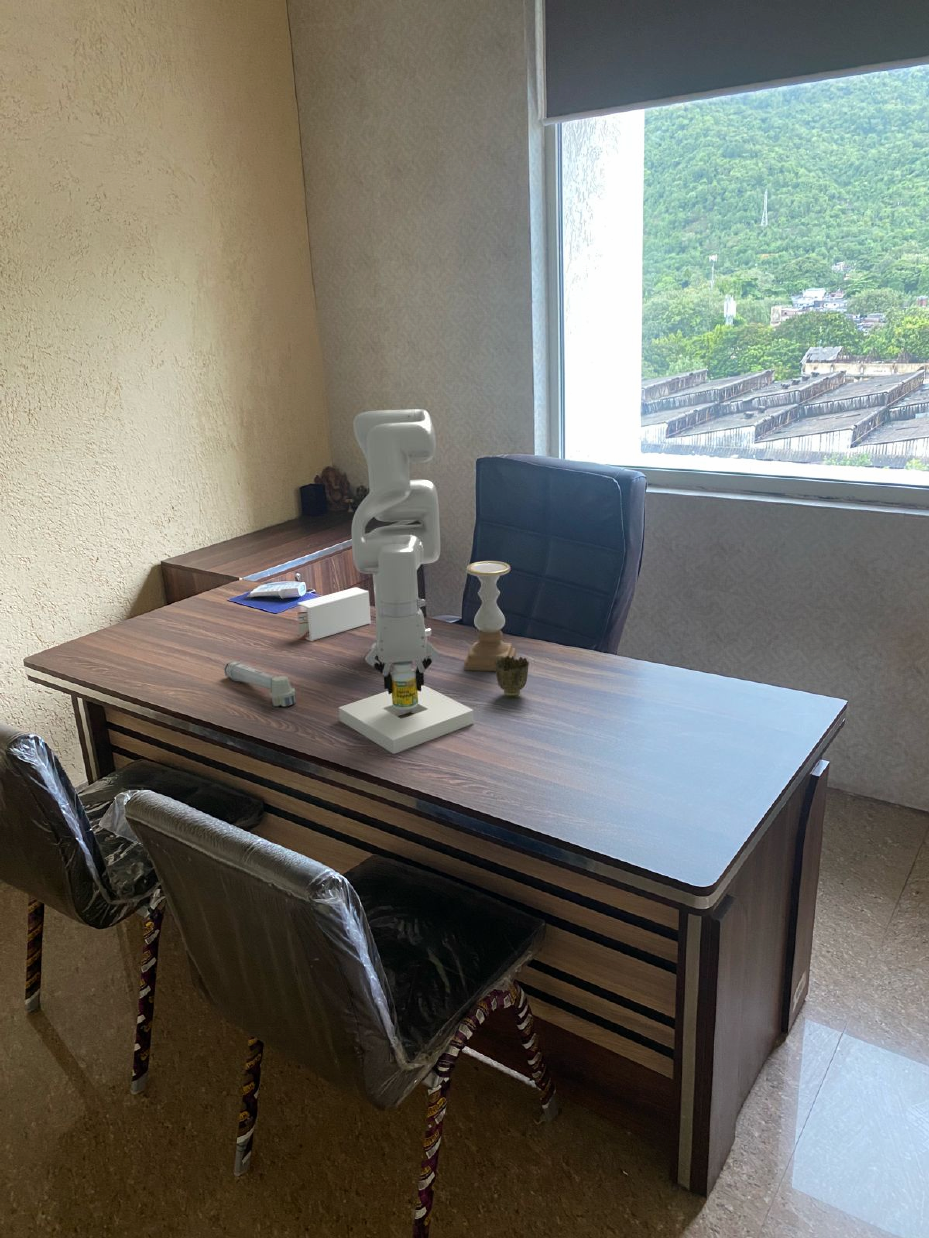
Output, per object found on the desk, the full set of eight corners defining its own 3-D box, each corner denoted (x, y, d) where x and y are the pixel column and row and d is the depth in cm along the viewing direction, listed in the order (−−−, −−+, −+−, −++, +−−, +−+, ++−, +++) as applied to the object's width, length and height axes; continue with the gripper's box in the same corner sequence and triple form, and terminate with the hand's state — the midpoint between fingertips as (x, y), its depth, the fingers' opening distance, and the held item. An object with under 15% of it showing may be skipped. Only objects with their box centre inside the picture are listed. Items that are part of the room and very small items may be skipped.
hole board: (416, 693, 203) (416, 681, 202) (473, 723, 188) (473, 709, 187) (339, 720, 191) (338, 707, 190) (393, 753, 177) (392, 740, 176)
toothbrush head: (239, 658, 217) (296, 672, 198) (244, 684, 218) (301, 701, 200) (220, 664, 213) (276, 679, 195) (225, 691, 215) (281, 708, 197)
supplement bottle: (415, 698, 192) (413, 655, 188) (420, 708, 187) (418, 665, 184) (390, 701, 191) (387, 658, 187) (394, 712, 186) (391, 668, 182)
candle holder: (472, 652, 225) (469, 559, 217) (516, 654, 223) (515, 560, 215) (463, 669, 215) (460, 572, 207) (510, 672, 213) (508, 574, 205)
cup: (534, 691, 202) (533, 657, 200) (521, 704, 196) (521, 670, 193) (503, 686, 205) (502, 653, 203) (490, 699, 199) (489, 665, 196)
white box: (359, 619, 252) (356, 586, 249) (370, 624, 248) (368, 591, 245) (296, 638, 239) (293, 604, 236) (307, 643, 235) (304, 608, 232)
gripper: (439, 597, 186) (443, 679, 192) (355, 604, 184) (361, 686, 190) (444, 609, 179) (448, 693, 185) (357, 616, 177) (363, 701, 183)
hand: (404, 689), depth 188 cm, fingers closed on supplement bottle, 5 cm apart
